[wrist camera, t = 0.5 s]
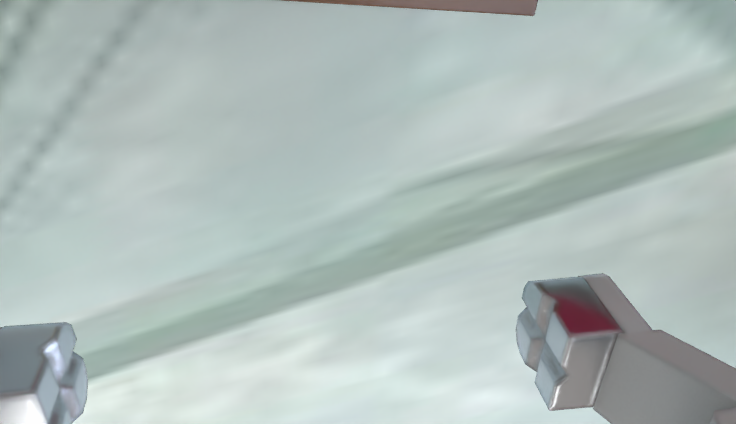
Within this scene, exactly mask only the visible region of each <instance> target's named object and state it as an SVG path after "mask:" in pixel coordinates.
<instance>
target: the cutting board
mask: <svg viewBox="0 0 736 424" xmlns="http://www.w3.org/2000/svg"><path fill="white" fill-rule="evenodd" d="M283 1H299V2H315V3H332V4H348V5H364V6H381V7H397V8H413V9H430V10H446V11H462V12H479V13H495V14H511V15H528V16H533V15H534V14H535V10H536V6H537V2H538V0H283Z"/></svg>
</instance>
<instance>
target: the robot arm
mask: <svg viewBox="0 0 736 424" xmlns="http://www.w3.org/2000/svg"><path fill="white" fill-rule="evenodd" d="M522 299H523V301H524V303H525V304H526V306H527V307H526V308H525V309H524V310H523V311H522V312H521V313H520V314H519V315H518V319H517V325H516V337H517V345H518V348H519V351H520V354H521V356H522V358H523V361H524V363H525V364H526V365H527V366H529V367H530V368H532V369H533V370H535V371H536V372H537V375H536V379H535V384H536V386H537V388H538V390H539V392H540V394H541V396H542V398H543V400H544V402H545V403H546V405H547V407H548V409H549V411H554V410H564V409H575V408H585V407H593V409H594V410H595V411H596V412H597V413H599V414H600V415H601V416H602V417H604V418H605V419H606V420H607V421H609V422H610V423H611V424H736V368H734V367H732V366H730V365H728V364H726V363H724V362H722V361H720V360H718V359H716V358H714V357H712V356H710V355H709V354H707V353H705V352H703V351H701V350H699V349H697V348H695V347H693V346H691V345H689V344H687V343H685V342H683V341H681V340H679V339H677V338H675V337H674V336H672V335H670V334H668V333H666V332H664V331H662V330H652V329H651V327H650V326H649V325H648V324H647V322H646V321H645V320H644V319H643V318H642V316H641V315H640V314H639V313H638V311H637V310H636V309H635V308H634V306H633V305H632V304H631V303H630V301H629V300H628V299H627V298H626V297H625V295H624V294H623V293H622V292H621V290H620V289H619V288H618V287H617V285H616V284H615V283H614V282H613V281H612V279H611V278H610V277H609V276H607V275H605V274H603V273H602V274H593V275H583V276H578V277H569V278H558V279H548V280H537V281H528V282H527V284H526V286H525V287H524V291H523V295H522ZM76 340H77V338H76V335H75V333H74V330H73V327H72V325H71V324H69V323H67V322H62V323H47V324H32V325H17V326H4V327H0V424H72V423H73V422H74V421H75V420H76V419H77V418H78V417H79V416H80V415H81V414H82V413H83V411H84V407H85V403H86V400H87V389H88V377H87V370H86V366H85V363H84V359H83V358H82V357H81V356H79V355H78V354H76V353H75V352H73V349H74V346H75V343H76Z"/></svg>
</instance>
